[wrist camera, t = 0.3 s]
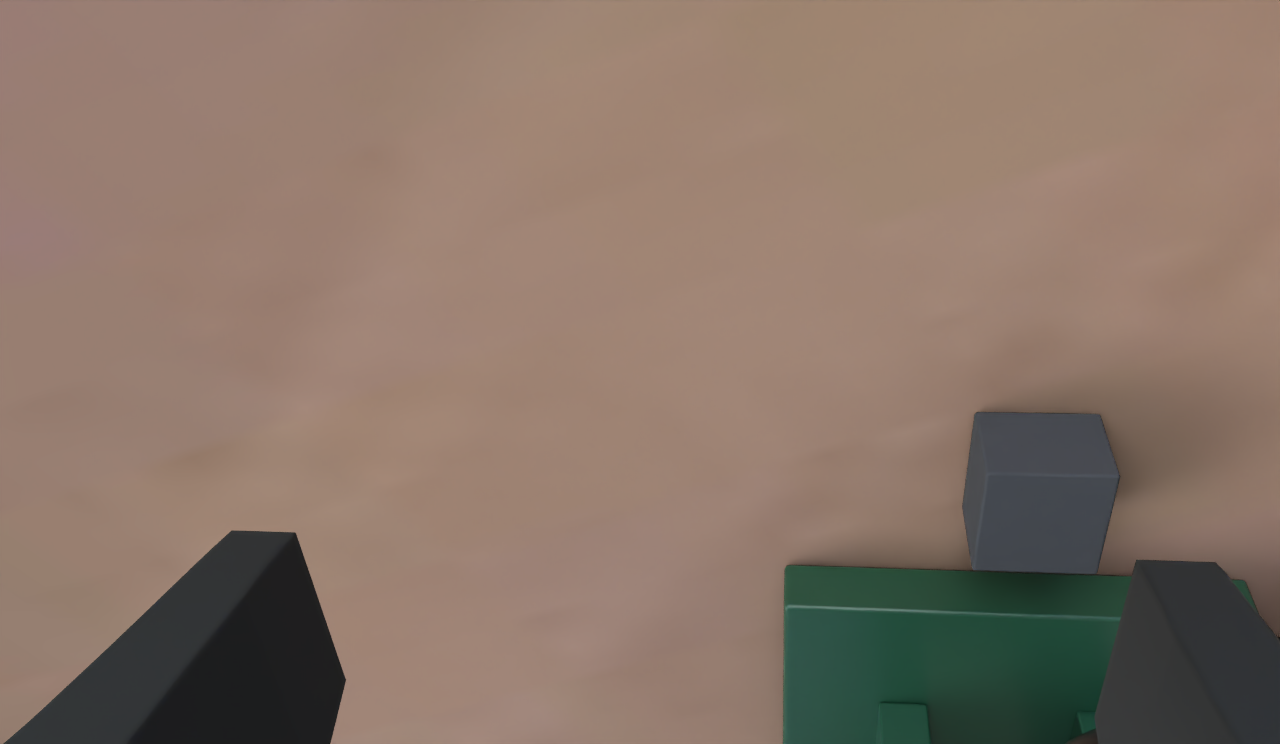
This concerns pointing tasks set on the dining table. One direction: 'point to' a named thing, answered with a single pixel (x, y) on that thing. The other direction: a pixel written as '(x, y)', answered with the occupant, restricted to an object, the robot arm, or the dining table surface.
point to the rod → (1085, 738)
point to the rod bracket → (946, 654)
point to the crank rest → (1038, 492)
